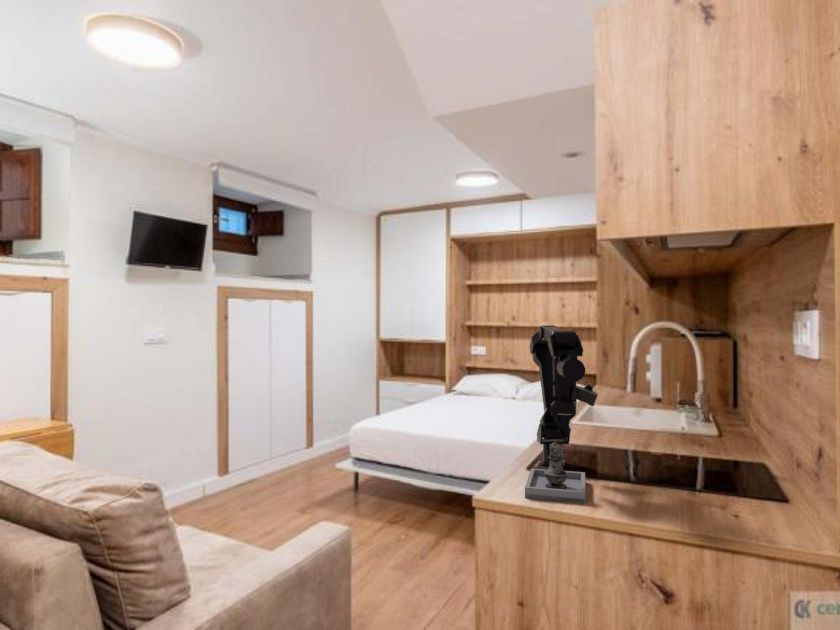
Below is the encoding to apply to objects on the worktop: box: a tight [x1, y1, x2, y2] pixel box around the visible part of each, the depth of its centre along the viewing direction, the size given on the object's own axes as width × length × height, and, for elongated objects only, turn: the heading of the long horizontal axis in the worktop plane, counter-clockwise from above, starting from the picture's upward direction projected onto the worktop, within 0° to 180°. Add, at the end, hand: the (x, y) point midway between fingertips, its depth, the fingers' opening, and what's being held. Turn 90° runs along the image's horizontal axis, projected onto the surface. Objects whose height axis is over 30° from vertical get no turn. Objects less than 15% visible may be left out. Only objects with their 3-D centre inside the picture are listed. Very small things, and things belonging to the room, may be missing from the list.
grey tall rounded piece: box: [544, 439, 568, 490], centre depth 128 cm, size 6×6×12 cm
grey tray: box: [524, 468, 586, 504], centre depth 129 cm, size 16×14×2 cm
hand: (564, 434), depth 137 cm, fingers open, 9 cm apart
